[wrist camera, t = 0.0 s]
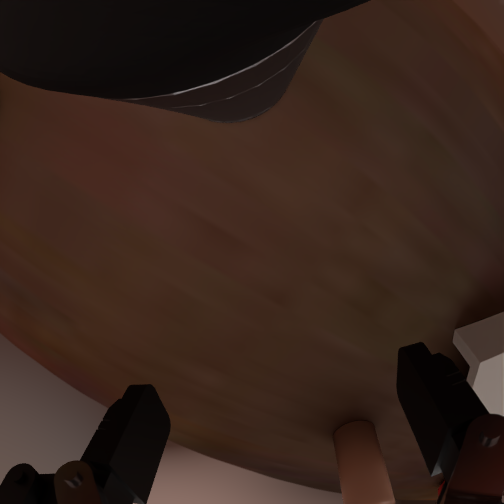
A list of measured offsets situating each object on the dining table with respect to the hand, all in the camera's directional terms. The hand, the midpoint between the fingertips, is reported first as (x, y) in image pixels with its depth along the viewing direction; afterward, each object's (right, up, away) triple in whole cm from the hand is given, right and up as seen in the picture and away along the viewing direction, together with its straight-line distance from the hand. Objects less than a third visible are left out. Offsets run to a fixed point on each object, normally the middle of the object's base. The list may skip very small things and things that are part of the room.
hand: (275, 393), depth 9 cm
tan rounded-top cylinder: (+12, -19, +25) cm, 34 cm away
